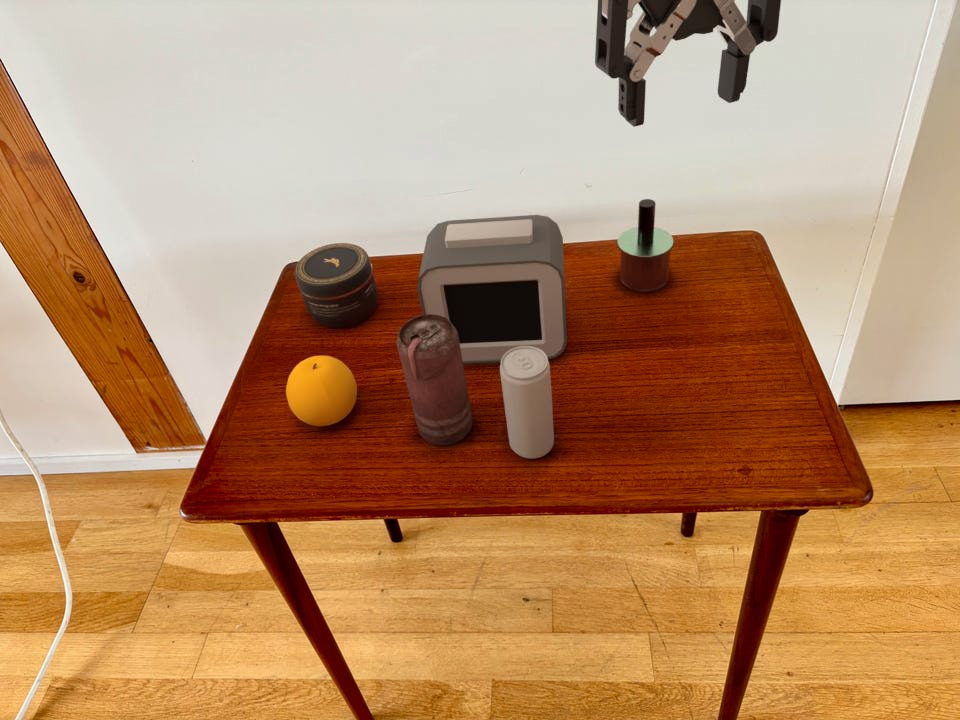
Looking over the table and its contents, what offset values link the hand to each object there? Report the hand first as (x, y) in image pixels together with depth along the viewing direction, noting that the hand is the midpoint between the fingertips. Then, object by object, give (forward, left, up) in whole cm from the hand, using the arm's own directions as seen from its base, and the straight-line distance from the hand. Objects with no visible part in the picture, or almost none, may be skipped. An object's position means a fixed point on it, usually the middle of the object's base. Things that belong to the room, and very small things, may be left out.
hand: (681, 110), depth 58 cm
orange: (+36, -12, -32) cm, 50 cm away
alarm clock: (+13, -17, -32) cm, 39 cm away
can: (+24, -4, -32) cm, 40 cm away
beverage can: (+16, +2, -32) cm, 36 cm away
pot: (-8, -19, -32) cm, 38 cm away
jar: (+31, -31, -32) cm, 54 cm away
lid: (-8, -19, -27) cm, 34 cm away
